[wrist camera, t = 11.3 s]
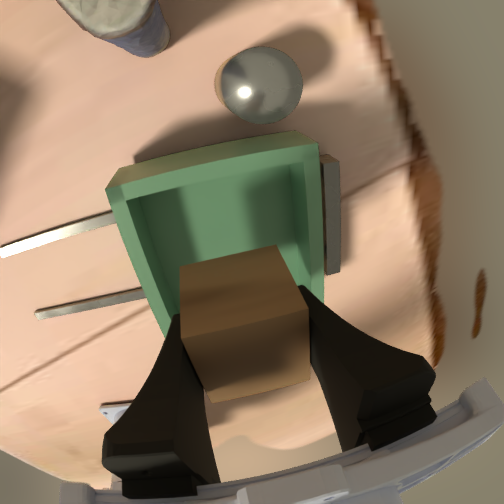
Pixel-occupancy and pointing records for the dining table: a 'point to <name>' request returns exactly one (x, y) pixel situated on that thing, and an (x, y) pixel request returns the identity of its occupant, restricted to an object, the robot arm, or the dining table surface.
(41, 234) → the rails
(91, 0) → the flask
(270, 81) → the cylinder
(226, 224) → the green tray
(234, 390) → the walnut block
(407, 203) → the dining table surface
